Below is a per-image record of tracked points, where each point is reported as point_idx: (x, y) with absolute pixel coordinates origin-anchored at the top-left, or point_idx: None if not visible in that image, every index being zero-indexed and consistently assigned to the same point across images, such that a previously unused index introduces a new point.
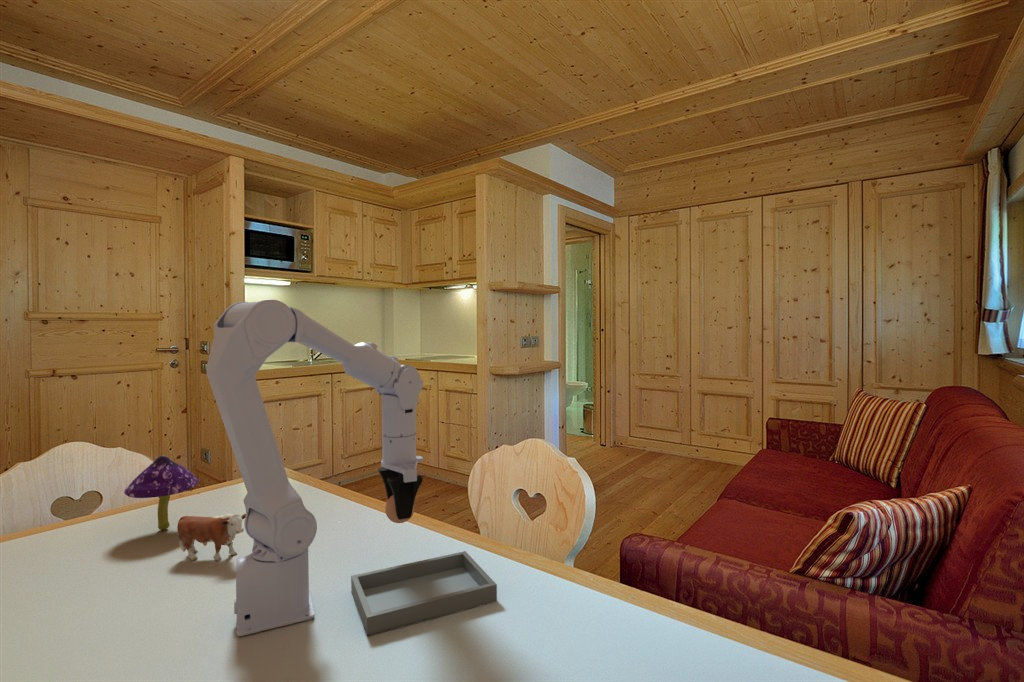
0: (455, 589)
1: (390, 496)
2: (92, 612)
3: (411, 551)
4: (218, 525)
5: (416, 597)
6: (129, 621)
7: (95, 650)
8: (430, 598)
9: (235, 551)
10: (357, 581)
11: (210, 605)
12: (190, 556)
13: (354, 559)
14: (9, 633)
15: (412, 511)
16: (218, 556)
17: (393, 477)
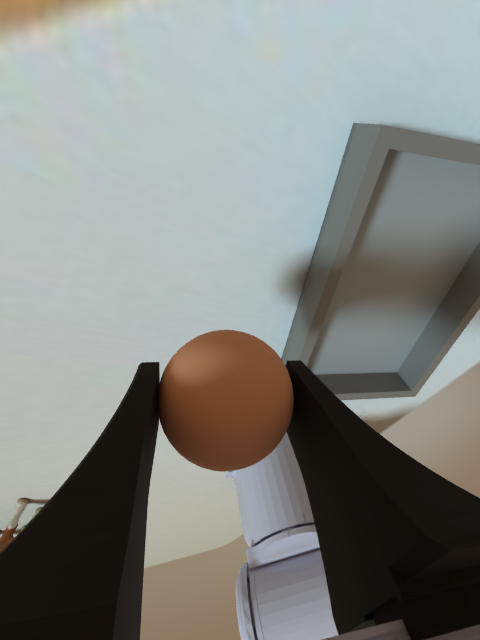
0: (429, 225)
1: (153, 451)
2: (150, 545)
3: (155, 234)
4: None
5: (383, 303)
6: (188, 525)
7: (228, 526)
8: (466, 316)
9: (19, 504)
10: None
11: (196, 491)
12: None
13: (137, 361)
14: (160, 563)
15: (279, 357)
16: None
17: (363, 626)
